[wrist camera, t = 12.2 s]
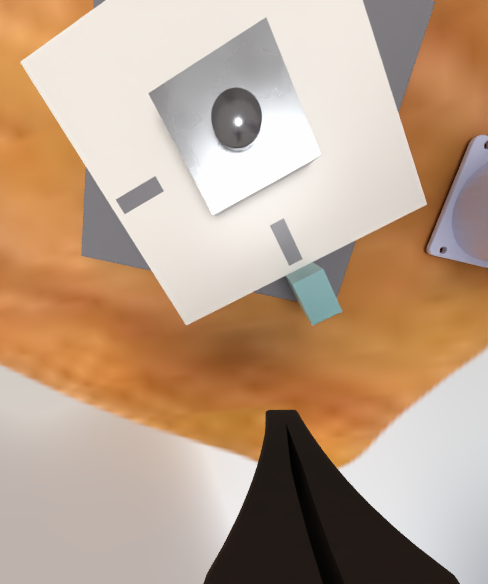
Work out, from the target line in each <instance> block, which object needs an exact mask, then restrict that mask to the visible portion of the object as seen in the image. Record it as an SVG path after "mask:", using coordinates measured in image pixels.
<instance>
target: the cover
mask: <svg viewBox="0 0 488 584" xmlns="http://www.w3.org/2000/svg"><path fill="white" fill-rule="evenodd" d="M148 94H149V96H150V98H151V100H152V102H153V103H154V105H155V107H156V109H157V111H158V113H159V115H160V117H161V118H162V120H163V122H164V124H165V126H166V128H167V130H168V132H169V134H170V135H171V137H172V139H173V141H174V143H175V145H176V147H177V149H178V150H179V152H180V154H181V156H182V158H183V160H184V162H185V164H186V165H187V167H188V169H189V171H190V173H191V175H192V177H193V179H194V181H195V182H196V184H197V186H198V188H199V190H200V192H201V194H202V196H203V197H204V199H205V201H206V203H207V205H208V207H209V209H210V211H211V212H212V214H213V215H215V216H218V215H220V214H222V213H223V212H225V211H227V210H229V209H231V208H232V207H234V206H236V205H238V204H240V203H241V202H243V201H245V200H247V199H249V198H251V197H252V196H254V195H256V194H258V193H260V192H261V191H263V190H265V189H267V188H269V187H270V186H272V185H274V184H276V183H278V182H279V181H281V180H283V179H285V178H287V177H288V176H290V175H292V174H294V173H296V172H298V171H299V170H301V169H303V168H305V167H307V166H308V165H310V164H311V163H312V162H313V161H315V160H316V159H317V158H318V157H319V156H321V153H320V151H319V148H318V146H317V143H316V141H315V138H314V136H313V133H312V131H311V128H310V126H309V123H308V121H307V118H306V116H305V113H304V111H303V108H302V106H301V103H300V101H299V98H298V96H297V93H296V91H295V88H294V85H293V83H292V80H291V78H290V75H289V73H288V70H287V68H286V65H285V63H284V60H283V58H282V55H281V53H280V50H279V48H278V45H277V43H276V40H275V38H274V35H273V33H272V30H271V28H270V25H269V23H268V20H267V18H266V17H265V18H264V19H262V20H261V21H259V22H258V23H256V24H255V25H253V26H252V27H250V28H248V29H247V30H245V31H244V32H242V33H241V34H239V35H238V36H236V37H234V38H233V39H231V40H230V41H228V42H227V43H225V44H224V45H222V46H221V47H219V48H217V49H216V50H214V51H213V52H211V53H210V54H208V55H207V56H205V57H204V58H202V59H200V60H199V61H197V62H196V63H194V64H193V65H191V66H190V67H188V68H187V69H185V70H183V71H182V72H180V73H179V74H177V75H176V76H174V77H173V78H171V79H170V80H168V81H166V82H165V83H163V84H162V85H160V86H159V87H157V88H156V89H154V90H153V91H151V92H149V93H148Z"/></svg>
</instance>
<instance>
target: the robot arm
mask: <svg viewBox="0 0 488 584" xmlns="http://www.w3.org/2000/svg"><path fill="white" fill-rule="evenodd" d="M485 143H486V144H487V147H486V149H485V148H484V144H485ZM441 247H442V248H443V250H442V252H441V253H440V248H441ZM426 250H427V253H428V254H430V255H434V256H438V257H442V258H447V259H451V260H455V261H460V262H464V263H468V264H473V265H477V266H481V267H486V268H488V136H486V135H479V136H476V137H474V138H473V139H472V140H471V141H470V143H469V145H468V148H467V150H466V152H465V155H464V157H463V160H462V162H461V165H460V167H459V170H458V172H457V174H456V177H455V179H454V182H453V184H452V187H451V189H450V192H449V194H448V197H447V199H446V201H445V204H444V206H443V209H442V211H441V214H440V216H439V219H438V221H437V223H436V226H435V228H434V231H433V233H432V236H431V238H430V241H429V243H428V246H427V249H426ZM204 584H460V583H459V582H458V580H457V579H456V577H455V576H454V575H453V574H452V573H451V572H449V571H448V570H447V569H445V568H444V567H443V566H441V565H440V564H439V563H437V562H436V561H435V560H434V559H432V558H431V557H430V556H429V555H427V554H426V553H425V552H423V551H422V550H421V549H419V548H418V547H417V546H416V545H415V544H413V543H412V542H411V541H410V540H409V539H407V538H406V537H405V536H404V535H403V534H401V533H400V532H399V531H398V530H397V529H396V528H395V527H393V526H392V525H391V524H390V523H389V522H388V521H387V520H386V519H385V518H384V517H383V516H382V515H381V514H380V513H379V512H377V511H376V510H375V509H374V508H373V507H372V506H371V505H370V504H369V503H368V502H367V501H366V500H365V499H364V498H363V497H362V496H361V495H360V494H359V493H358V492H357V491H356V489H354V487H353V486H352V485H351V484H350V483H349V482H348V481H347V480H346V478H345V477H344V476H343V475H342V474H341V473H340V471H339V470H338V469H337V468H336V467H335V465H334V464H333V463H332V462H331V460H330V459H329V458H328V457H327V455H326V454H325V453H324V451H323V450H322V449H321V447H320V446H319V444H318V443H317V442H316V440H315V439H314V437H313V436H312V435H311V433H310V432H309V430H308V428H307V427H306V425H305V424H304V422H303V421H302V419H301V417H300V415H299V414H298V412H297V411H296V410H268V411H267V412H266V428H265V436H264V441H263V446H262V450H261V454H260V458H259V461H258V465H257V468H256V471H255V474H254V477H253V480H252V483H251V486H250V488H249V491H248V494H247V496H246V498H245V501H244V503H243V506H242V508H241V510H240V513H239V515H238V517H237V519H236V521H235V523H234V525H233V527H232V529H231V531H230V533H229V535H228V537H227V539H226V541H225V543H224V545H223V547H222V549H221V550H220V552H219V554H218V556H217V558H216V559H215V561H214V563H213V564H212V566H211V568H210V569H209V571H208V573H207V575H206V578H205V581H204Z"/></svg>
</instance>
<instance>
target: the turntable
mask: <svg viewBox="0 0 488 584" xmlns="http://www.w3.org/2000/svg"><path fill="white" fill-rule="evenodd" d="M265 17H266V18H267V20H268V23H269V25H270V28H271V30H272V33H273V35H274V38H275V40H276V43H277V45H278V48H279V50H280V53H281V55H282V58H283V60H284V63H285V65H286V68H287V70H288V73H289V75H290V78H291V80H292V83H293V85H294V88H295V91H296V93H297V96H298V98H299V101H300V103H301V106H302V108H303V111H304V113H305V116H306V118H307V121H308V123H309V126H310V128H311V131H312V133H313V136H314V138H315V141H316V143H317V146H318V148H319V151H320V153H321V156H319V157H318V158H317V159H316V160H315V161H313V162H312V163H311V164H310V165H308V166H307V167H305V168H303V169H301V170H299V171H298V172H296V173H294V174H292V175H290V176H288V177H287V178H285V179H283V180H281V181H279V182H278V183H276V184H274V185H272V186H270V187H269V188H267V189H265V190H263V191H261V192H260V193H258V194H256V195H254V196H252V197H251V198H249V199H247V200H245V201H243V202H241V203H240V204H238V205H236V206H234V207H232V208H231V209H229V210H227V211H225V212H223V213H222V214H220V215H218V216H215V215H213V214H212V212H211V211H210V209H209V207H208V205H207V203H206V201H205V199H204V197H203V196H202V194H201V192H200V190H199V188H198V186H197V184H196V182H195V181H194V179H193V177H192V175H191V173H190V171H189V169H188V167H187V165H186V164H185V162H184V160H183V158H182V156H181V154H180V152H179V150H178V149H177V147H176V145H175V143H174V141H173V139H172V137H171V135H170V134H169V132H168V130H167V128H166V126H165V124H164V122H163V120H162V118H161V117H160V115H159V113H158V111H157V109H156V107H155V105H154V103H153V102H152V100H151V98H150V96H149V94H148V93H149V92H151V91H153V90H154V89H156V88H157V87H159V86H160V85H162V84H163V83H165V82H166V81H168V80H170V79H171V78H173V77H174V76H176V75H177V74H179V73H180V72H182V71H183V70H185V69H187V68H188V67H190V66H191V65H193V64H194V63H196V62H197V61H199V60H200V59H202V58H204V57H205V56H207V55H208V54H210V53H211V52H213V51H214V50H216V49H217V48H219V47H221V46H222V45H224V44H225V43H227V42H228V41H230V40H231V39H233V38H234V37H236V36H238V35H239V34H241V33H242V32H244V31H245V30H247V29H248V28H250V27H252V26H253V25H255V24H256V23H258V22H259V21H261V20H262V19H264V18H265ZM20 63H21V64H22V66H23V67H24V69H25V71H26V72H27V74H28V75H29V77H30V79H31V80H32V82H33V83H34V85H35V86H36V88H37V90H38V91H39V93H40V94H41V96H42V98H43V99H44V101H45V102H46V104H47V106H48V107H49V109H50V110H51V112H52V113H53V115H54V117H55V118H56V120H57V121H58V123H59V125H60V126H61V128H62V129H63V131H64V132H65V134H66V136H67V137H68V139H69V140H70V142H71V144H72V145H73V147H74V148H75V150H76V151H77V153H78V155H79V156H80V158H81V159H82V161H83V163H84V164H85V166H86V167H87V169H88V171H89V172H90V174H91V175H92V177H93V178H94V180H95V182H96V183H97V185H98V186H99V188H100V190H101V191H102V193H103V194H104V196H105V197H106V199H107V201H108V202H109V204H110V205H111V207H112V209H113V210H114V212H115V213H116V215H117V216H118V218H119V220H120V221H121V223H122V224H123V226H124V228H125V229H126V231H127V232H128V234H129V236H130V237H131V239H132V240H133V242H134V243H135V245H136V247H137V248H138V250H139V251H140V253H141V255H142V256H143V258H144V259H145V261H146V262H147V264H148V266H149V267H150V269H151V270H152V272H153V274H154V275H155V277H156V278H157V280H158V282H159V283H160V285H161V286H162V288H163V289H164V291H165V293H166V294H167V296H168V297H169V299H170V301H171V302H172V304H173V305H174V307H175V308H176V310H177V312H178V313H179V315H180V316H181V318H182V320H183V321H184V323H185V324H186V325H188V324H190V323H192V322H194V321H196V320H198V319H200V318H202V317H204V316H206V315H208V314H210V313H212V312H214V311H216V310H218V309H220V308H222V307H224V306H226V305H228V304H230V303H232V302H234V301H236V300H238V299H240V298H242V297H244V296H246V295H248V294H250V293H252V292H254V291H256V290H258V289H260V288H262V287H264V286H266V285H268V284H270V283H272V282H274V281H276V280H278V279H280V278H282V277H284V276H285V277H286V279H287V281H288V283H289V285H290V287H291V289H292V291H293V293H294V295H295V297H296V299H297V301H298V303H299V305H300V307H301V309H302V310H303V312H304V313H305V315H306V316H307V318H308V320H309V321H310V323H311V324H312V326H313V325H315V324H317V323H319V322H321V321H323V320H325V319H328V318H330V317H332V316H334V315H336V314H338V313H340V312H342V310H341V307H340V305H339V303H338V301H337V298H336V296H335V294H334V292H333V289H332V287H331V285H330V283H329V281H328V278H327V276H326V274H325V272H324V269H323V268H321V267H320V266H318V265H316V264H315V263H313V262H314V261H316V260H318V259H319V258H321V257H323V256H325V255H327V254H329V253H331V252H333V251H335V250H337V249H339V248H341V247H343V246H345V245H347V244H349V243H351V242H353V241H355V240H357V239H359V238H361V237H363V236H365V235H367V234H369V233H371V232H373V231H375V230H377V229H379V228H381V227H383V226H385V225H387V224H389V223H391V222H393V221H395V220H397V219H399V218H401V217H403V216H405V215H407V214H409V213H411V212H413V211H415V210H417V209H419V208H421V207H423V206H425V205H427V203H426V199H425V196H424V193H423V190H422V187H421V184H420V180H419V177H418V174H417V171H416V168H415V164H414V161H413V158H412V155H411V152H410V149H409V145H408V142H407V139H406V136H405V133H404V130H403V126H402V123H401V120H400V117H399V114H398V111H397V107H396V104H395V101H394V98H393V95H392V91H391V88H390V85H389V82H388V79H387V76H386V72H385V69H384V66H383V63H382V60H381V57H380V53H379V50H378V47H377V44H376V41H375V37H374V34H373V31H372V28H371V25H370V22H369V18H368V15H367V12H366V9H365V6H364V3H363V0H105V1H104V2H103V3H101V4H100V5H98V6H97V7H96V8H94V9H93V10H91V11H90V12H89V13H87V14H86V15H85V16H83V17H82V18H80V19H79V20H78V21H76V22H75V23H73V24H72V25H71V26H69V27H68V28H66V29H65V30H64V31H62V32H61V33H60V34H58V35H57V36H55V37H54V38H53V39H51V40H50V41H48V42H47V43H46V44H44V45H43V46H42V47H40V48H39V49H37V50H36V51H35V52H33V53H32V54H30V55H29V56H28V57H26V58H25V59H24V60H22V61H21V62H20Z"/></svg>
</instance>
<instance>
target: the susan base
mask: <svg viewBox="0 0 488 584" xmlns="http://www.w3.org/2000/svg"><path fill="white" fill-rule="evenodd" d="M104 1H105V0H94V8H96V7H97V6H98V5H100V4H101V3H103V2H104ZM363 3H364V6H365V9H366V12H367V15H368V18H369V22H370V25H371V28H372V31H373V34H374V37H375V41H376V44H377V47H378V50H379V53H380V57H381V60H382V63H383V66H384V69H385V72H386V76H387V79H388V82H389V85H390V88H391V91H392V95H393V98H394V101H395V104H396V107H397V111H398V112H399V109H400V106H401V103H402V100H403V97H404V94H405V91H406V88H407V85H408V82H409V79H410V76H411V73H412V70H413V67H414V64H415V61H416V58H417V55H418V52H419V49H420V46H421V43H422V40H423V37H424V34H425V31H426V28H427V25H428V22H429V19H430V16H431V13H432V10H433V7H434V4H435V1H431V0H363ZM355 242H356V240H355V241H353V242H351V243H349V244H347V245H345V246H343V247H341V248H339V249H337V250H335V251H333V252H331V253H329V254H327V255H325V256H323V257H321V258H319V259H318V260H316V261H314V262H313V263H315V264H316V265H318V266H320V267H321V268H323V269H324V272H325V274H326V276H327V278H328V281H329V283H330V285H331V287H332V289H333V292H334V294H335V296H336V298H337V296H338V293H339V290H340V287H341V284H342V281H343V278H344V275H345V272H346V269H347V266H348V263H349V260H350V257H351V254H352V251H353V248H354V245H355ZM81 256H85V257H90V258H94V259H99V260H104V261H109V262H113V263H118V264H123V265H127V266H132V267H137V268H141V269H146V270H151V269H150V267H149V266H148V264H147V262H146V261H145V259H144V258H143V256H142V255H141V253H140V251H139V250H138V248H137V247H136V245H135V243H134V242H133V240H132V239H131V237H130V236H129V234H128V232H127V231H126V229H125V228H124V226H123V224H122V223H121V221H120V220H119V218H118V216H117V215H116V213H115V212H114V210H113V209H112V207H111V205H110V204H109V202H108V201H107V199H106V197H105V196H104V194H103V193H102V191H101V190H100V188H99V186H98V185H97V183H96V182H95V180H94V178H93V177H92V175H91V174H90V172H89V171H88V169H87V167H86V173H85V194H84V214H83V234H82V254H81ZM151 271H152V270H151ZM254 293H259V294H264V295H269V296H273V297H278V298H283V299H287V300H292V301H297V299H296V297H295V295H294V293H293V291H292V289H291V287H290V285H289V283H288V281H287V279H286V277H285V276H284V277H282V278H280V279H278V280H276V281H274V282H272V283H270V284H268V285H266V286H264V287H262V288H260V289H258V290H256V291H254ZM297 302H298V301H297Z"/></svg>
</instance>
